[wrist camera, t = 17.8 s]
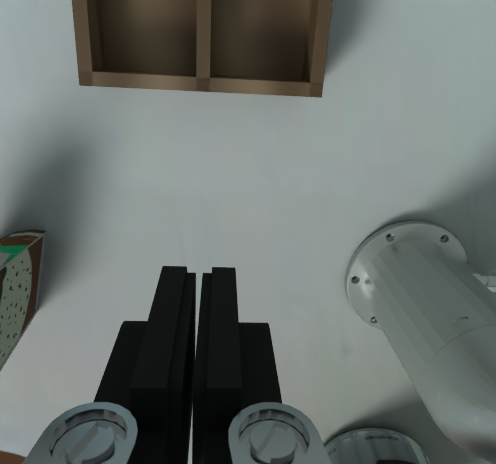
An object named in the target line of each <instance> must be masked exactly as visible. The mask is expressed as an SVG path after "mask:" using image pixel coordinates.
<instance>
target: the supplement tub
mask: <svg viewBox="0 0 496 464" xmlns="http://www.w3.org/2000/svg"><path fill="white" fill-rule="evenodd" d="M324 447H325V449H326V452H327V454H328V456H329V459H330V461H331V463H332V464H430V462H429V460H428V458H427V456H426V454H425V453H424V451H423V450H422V448H421V447H420V446H419V445H418V444H417V443H416V442H415V441H414V440H413V439H411V438H410V437H408V436H406V435H404V434H402V433H400V432H397V431H394V430H390V429H383V428H364V429H358V430H353V431H349V432H347V433H344V434H342V435H340V436H338V437H336V438H334V439H333V440H331V441H330V442H329V443H328V444H326V445H325V446H324Z"/></svg>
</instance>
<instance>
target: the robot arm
mask: <svg viewBox="0 0 496 464" xmlns="http://www.w3.org/2000/svg"><path fill="white" fill-rule="evenodd" d="M388 234H389V235H388ZM387 235H388V236H387ZM354 276H355V277H354ZM487 287H496V273H478V272H477V271H475V270H474V269H473V268H472V267H471V266H470V265H469V264H468V258H467V255H466V252H465V249H464V248H463V246H462V245H461V243H460V241H459V240H458V239H457V238H456V237H455V236H454V235H452V234H451V233H450V232H449V231H447V230H446V229H445V228H443V227H441V226H439V225H436V224H434V223H430V222H426V221H404V222H398V223H395V224H392V225H389V226H386V227H385V228H383V229H381V230H379V231H377V232H375V233H374V234H373V235H371V236H370V237H369V238H367V239H366V240H365V241H364V242H363V243H362V244H361V245H360V246H359V248H358V249H357V250H356V252H355V253H354V255H353V256H352V258H351V260H350V263H349V265H348V267H347V272H346V277H345V289H346V293H347V298H348V300H349V302H350V304H351V306H352V308H353V309H354V311H355V313H356V314H357V315H358V316H359V317H360V318H361V319H362V320H363V321H364V322H366V323H367V324H369V325H371V326H373V327H375V328H378V329H381V330H383V332H384V334H385V336H386V337H387V339H388V341H389V343H390V345H391V346H392V348H393V350H394V352H395V353H396V355H397V357H398V359H399V360H400V362H401V364H402V366H403V367H404V369H405V371H406V373H407V375H408V376H409V378H410V380H411V382H412V383H413V385H414V387H415V389H416V390H417V392H418V394H419V396H420V397H421V399H422V401H423V403H424V405H425V406H426V408H427V410H428V412H429V413H430V415H431V417H432V419H433V420H434V422H435V423H436V425H437V426H438V427H439V429H440V430H441V431H442V432H443V433H444V434H445V435H446V436H447V437H448V438H449V439H450V440H451V441H452V442H454V443H455V444H456V445H458V446H459V447H460V448H462V449H464V450H465V451H467V452H469V453H471V454H473V455H475V456H477V457H479V458H481V459H484V460H486V461H489V462H491V463H494V464H496V292H492V291H490V290H489V289H488V288H487ZM195 313H196V273H187V267H181V266H163V267H162V271H161V274H160V278H159V282H158V285H157V289H156V293H155V296H154V300H153V303H152V307H151V311H150V314H149V318H148V321H124V322H123V323H122V325H121V328H120V331H119V333H118V336H117V339H116V342H115V344H114V347H113V350H112V353H111V355H110V358H109V361H108V364H107V366H106V369H105V372H104V375H103V377H102V380H101V383H100V386H99V388H98V391H97V394H96V397H95V399H94V402H92V403H88V404H83V405H79V406H77V407H75V408H72V409H70V410H68V411H66V412H64V413H63V414H61V415H60V416H59V417H57V418H56V419H54V420H53V421H52V422H51V424H50V425H49V426H48V427H47V428H46V429H45V430H44V432H43V433H42V435H41V436H40V438H39V439H38V441H37V442H36V444H35V445H34V447H33V448H32V450H31V451H30V453H29V455H28V456H27V458H26V459H25V461H24V462H23V464H188V452H189V440H190V428H191V416H192V404H193V442H192V464H332V463H331V461H330V459H329V456H328V454H327V452H326V449H325V447H324V445H323V443H322V440H321V438H320V436H319V433H318V431H317V429H316V428H315V426H314V424H313V423H312V421H311V420H310V419H309V418H308V417H307V416H306V415H304V414H303V413H302V412H301V411H299V410H297V409H295V408H293V407H291V406H289V405H285V404H282V399H281V393H280V387H279V382H278V376H277V370H276V364H275V358H274V352H273V346H272V340H271V334H270V328H269V324H268V323H238V305H237V288H236V271H235V268H226V267H212V273H203V277H202V289H201V300H200V312H199V323H198V335H197V346H196V358H195Z"/></svg>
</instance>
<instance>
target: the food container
mask: <svg viewBox="0 0 496 464" xmlns="http://www.w3.org/2000/svg"><path fill="white" fill-rule="evenodd" d="M45 236H46V231H39V230H26V231H17V232H15V233H13V234H11V235H8V236H6V237H4V238H2V239H1V240H0V371H1V369H2V368H3V366H4V364H5V363H6V361H7V360H8V358H9V356H10V355H11V353H12V351H13V350H14V348H15V347H16V345H17V343H18V342H19V340H20V339H21V337H22V335H23V334H24V332H25V331H26V329H27V327H28V326H29V324H30V323H31V321H32V319H33V318H34V316H35V314H36V313H37V307H38V298H39V289H40V280H41V271H42V263H43V254H44V245H45Z"/></svg>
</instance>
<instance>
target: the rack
mask: <svg viewBox="0 0 496 464" xmlns="http://www.w3.org/2000/svg"><path fill="white" fill-rule="evenodd" d="M332 1H333V0H72V7H73V18H74V29H75V40H76V51H77V63H78V74H79V85H82V86H103V87H123V88H143V89H163V90H184V91H204V92H224V93H244V94H264V95H285V96H305V97H322V90H323V81H324V72H325V63H326V54H327V45H328V36H329V27H330V18H331V9H332Z"/></svg>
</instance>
